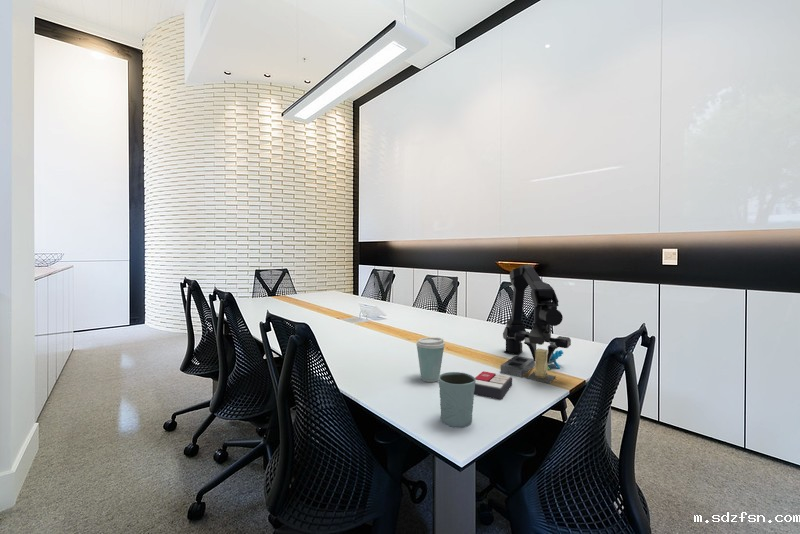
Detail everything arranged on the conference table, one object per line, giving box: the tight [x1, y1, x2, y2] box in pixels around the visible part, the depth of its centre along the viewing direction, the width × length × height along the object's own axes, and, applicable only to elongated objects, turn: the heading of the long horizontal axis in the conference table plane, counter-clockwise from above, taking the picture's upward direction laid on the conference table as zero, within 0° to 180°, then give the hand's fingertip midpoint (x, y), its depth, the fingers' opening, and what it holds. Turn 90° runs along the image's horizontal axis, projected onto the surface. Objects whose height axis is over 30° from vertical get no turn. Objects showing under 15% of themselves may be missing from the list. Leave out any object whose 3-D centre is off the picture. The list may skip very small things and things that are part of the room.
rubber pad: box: [526, 371, 557, 384], centre depth 132 cm, size 8×8×1 cm
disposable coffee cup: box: [416, 336, 446, 383], centre depth 130 cm, size 11×11×15 cm
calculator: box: [474, 371, 513, 401], centre depth 121 cm, size 11×4×15 cm
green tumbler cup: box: [438, 371, 476, 429], centre depth 99 cm, size 10×10×12 cm
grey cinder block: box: [500, 355, 535, 378], centre depth 141 cm, size 8×16×3 cm, turn 142°
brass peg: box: [534, 348, 548, 379], centre depth 131 cm, size 3×3×10 cm
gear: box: [547, 349, 564, 371], centre depth 143 cm, size 11×6×10 cm
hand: (541, 361), depth 131 cm, fingers open, 4 cm apart
